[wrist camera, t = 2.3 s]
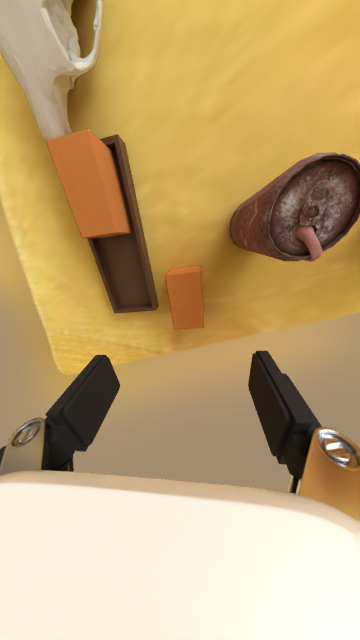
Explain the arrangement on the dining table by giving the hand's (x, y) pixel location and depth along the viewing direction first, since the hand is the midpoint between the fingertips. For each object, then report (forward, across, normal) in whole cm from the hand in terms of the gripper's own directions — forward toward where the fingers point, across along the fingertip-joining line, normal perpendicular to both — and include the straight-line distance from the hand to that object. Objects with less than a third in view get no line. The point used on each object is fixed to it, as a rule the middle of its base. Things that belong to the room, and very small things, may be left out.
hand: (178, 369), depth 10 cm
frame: (+20, +10, -8) cm, 24 cm away
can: (+19, -10, -8) cm, 23 cm away
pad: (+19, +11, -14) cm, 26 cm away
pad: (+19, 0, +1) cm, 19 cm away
